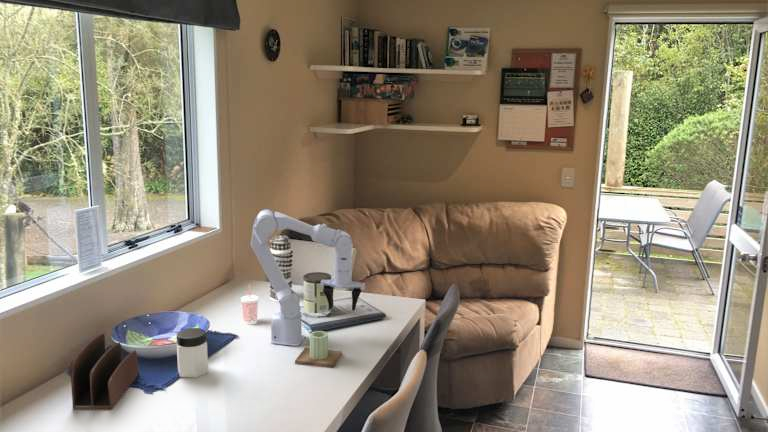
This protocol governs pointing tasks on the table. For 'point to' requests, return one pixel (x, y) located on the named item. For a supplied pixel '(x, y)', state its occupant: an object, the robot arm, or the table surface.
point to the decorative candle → (281, 259)
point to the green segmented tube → (319, 345)
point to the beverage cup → (250, 308)
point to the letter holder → (101, 375)
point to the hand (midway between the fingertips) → (342, 308)
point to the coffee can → (315, 292)
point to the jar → (192, 352)
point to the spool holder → (327, 362)
